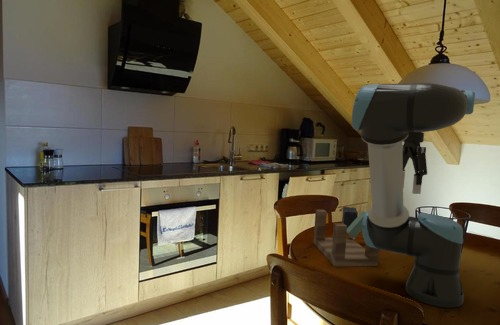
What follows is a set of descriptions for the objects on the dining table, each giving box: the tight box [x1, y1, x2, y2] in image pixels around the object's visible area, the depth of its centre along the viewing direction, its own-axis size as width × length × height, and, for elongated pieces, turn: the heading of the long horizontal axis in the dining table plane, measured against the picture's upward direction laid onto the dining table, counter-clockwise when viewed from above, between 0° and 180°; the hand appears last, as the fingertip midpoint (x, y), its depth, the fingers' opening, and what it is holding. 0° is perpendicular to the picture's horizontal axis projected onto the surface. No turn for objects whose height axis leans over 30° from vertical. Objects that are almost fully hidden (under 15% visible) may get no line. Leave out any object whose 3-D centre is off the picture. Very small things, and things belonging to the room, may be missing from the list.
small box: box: [341, 206, 359, 228], centre depth 166 cm, size 11×6×10 cm, turn 168°
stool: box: [313, 208, 380, 267], centre depth 135 cm, size 24×16×14 cm, turn 7°
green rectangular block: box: [347, 210, 367, 241], centre depth 146 cm, size 4×4×12 cm
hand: (407, 190), depth 132 cm, fingers open, 10 cm apart
